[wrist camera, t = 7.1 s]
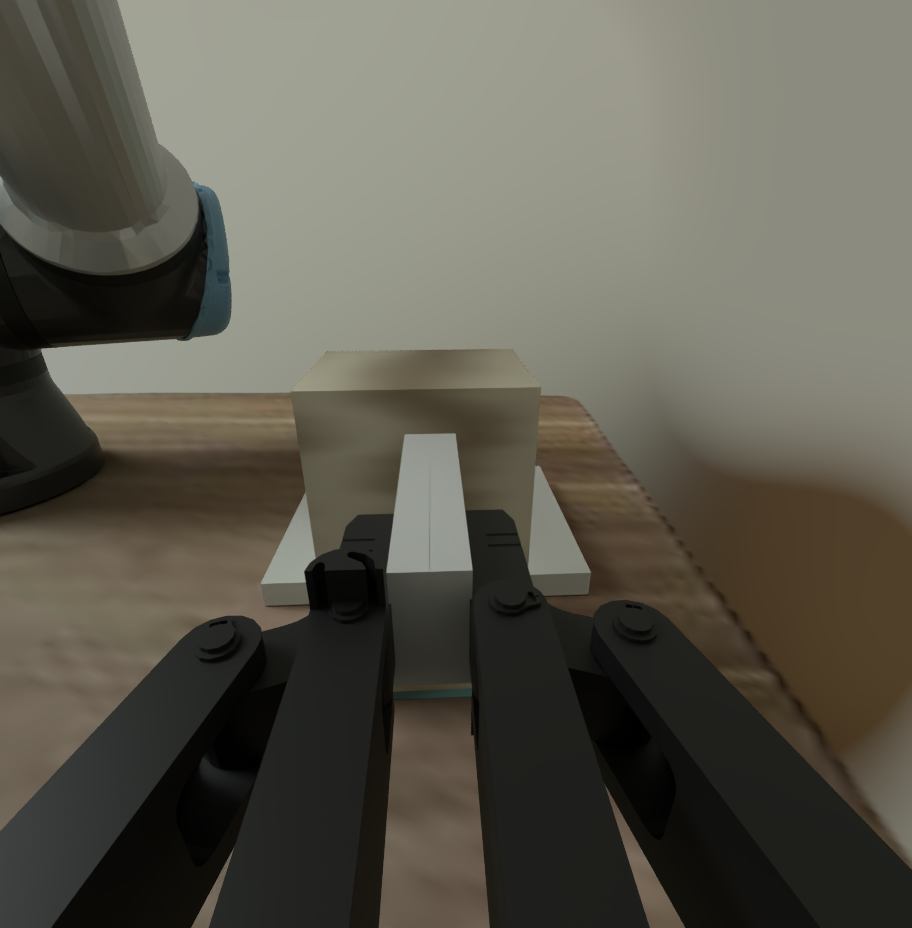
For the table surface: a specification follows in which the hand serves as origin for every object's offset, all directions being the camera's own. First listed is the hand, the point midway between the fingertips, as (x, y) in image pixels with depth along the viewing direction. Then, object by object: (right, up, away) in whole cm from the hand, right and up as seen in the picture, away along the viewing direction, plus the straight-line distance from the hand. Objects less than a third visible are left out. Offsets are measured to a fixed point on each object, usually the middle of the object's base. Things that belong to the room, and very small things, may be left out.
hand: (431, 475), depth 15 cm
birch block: (-1, -9, +9) cm, 13 cm away
